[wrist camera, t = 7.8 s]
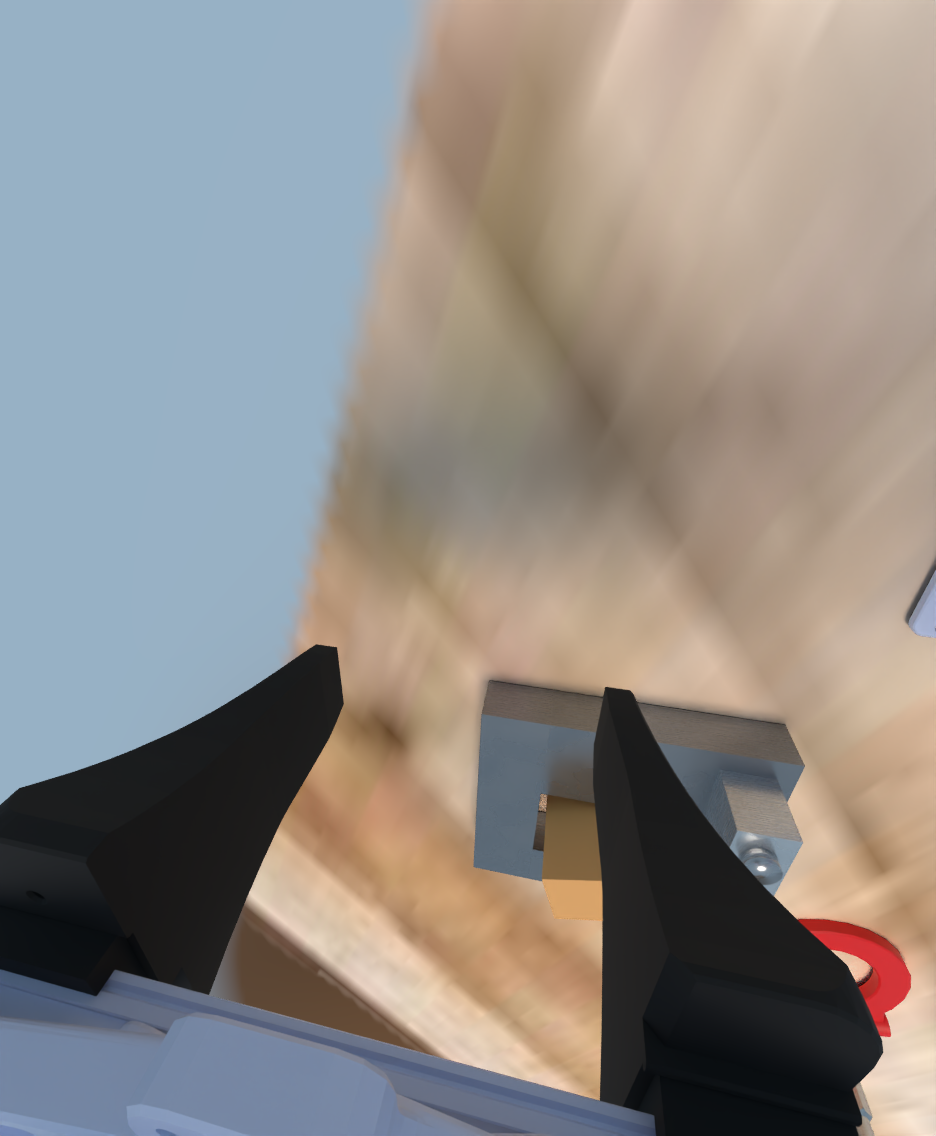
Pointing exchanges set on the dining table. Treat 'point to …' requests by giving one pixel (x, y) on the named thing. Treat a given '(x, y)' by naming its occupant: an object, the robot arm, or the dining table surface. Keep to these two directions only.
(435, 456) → the dining table surface
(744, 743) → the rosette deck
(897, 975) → the tow hook
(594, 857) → the tan rectangular block
